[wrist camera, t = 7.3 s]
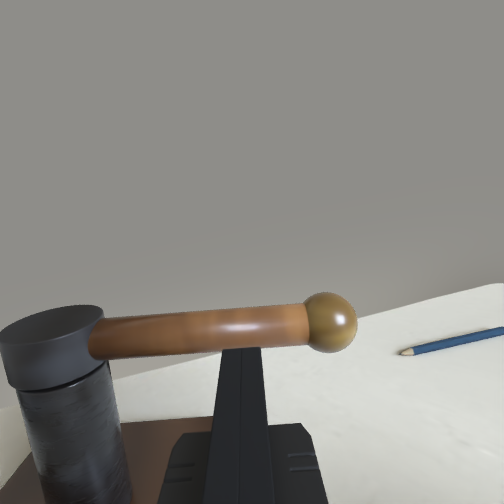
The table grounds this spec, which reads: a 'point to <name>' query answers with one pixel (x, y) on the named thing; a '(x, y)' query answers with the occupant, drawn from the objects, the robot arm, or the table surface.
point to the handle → (163, 336)
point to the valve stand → (91, 447)
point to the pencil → (454, 341)
